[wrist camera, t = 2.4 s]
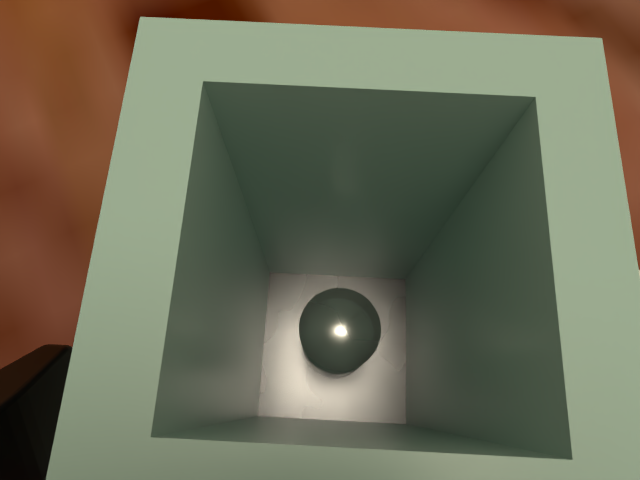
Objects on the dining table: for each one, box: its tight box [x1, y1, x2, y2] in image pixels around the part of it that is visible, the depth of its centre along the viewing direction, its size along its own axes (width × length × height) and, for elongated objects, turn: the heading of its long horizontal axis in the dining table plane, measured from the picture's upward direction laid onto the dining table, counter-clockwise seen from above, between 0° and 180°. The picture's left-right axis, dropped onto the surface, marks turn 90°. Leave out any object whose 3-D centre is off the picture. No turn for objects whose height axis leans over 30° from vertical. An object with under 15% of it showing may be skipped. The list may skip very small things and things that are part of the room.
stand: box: [258, 272, 406, 424], centre depth 14 cm, size 10×10×5 cm
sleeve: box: [46, 17, 640, 480], centre depth 11 cm, size 6×6×10 cm
